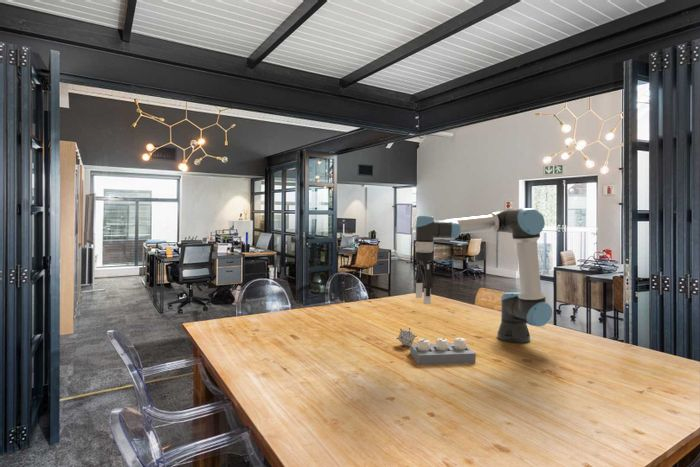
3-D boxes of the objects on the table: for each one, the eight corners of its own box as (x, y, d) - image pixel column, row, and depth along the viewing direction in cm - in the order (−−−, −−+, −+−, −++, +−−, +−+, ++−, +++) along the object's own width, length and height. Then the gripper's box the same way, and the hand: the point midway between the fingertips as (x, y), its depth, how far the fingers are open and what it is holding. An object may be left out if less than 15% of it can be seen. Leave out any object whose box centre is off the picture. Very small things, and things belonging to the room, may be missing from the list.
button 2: (445, 349, 174) (445, 337, 174) (449, 353, 169) (449, 341, 169) (434, 349, 174) (434, 338, 174) (438, 353, 169) (438, 341, 169)
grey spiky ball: (409, 354, 187) (416, 341, 181) (392, 347, 188) (398, 333, 182) (414, 340, 194) (420, 327, 188) (397, 333, 195) (403, 320, 189)
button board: (462, 351, 180) (462, 342, 180) (475, 362, 166) (475, 353, 166) (410, 353, 177) (410, 344, 177) (418, 364, 163) (418, 355, 163)
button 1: (463, 348, 175) (463, 337, 175) (467, 352, 170) (467, 340, 170) (452, 349, 175) (452, 337, 174) (456, 353, 170) (456, 341, 169)
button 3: (427, 350, 173) (427, 338, 173) (431, 353, 168) (431, 341, 168) (416, 350, 173) (416, 338, 173) (419, 354, 168) (419, 342, 168)
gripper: (409, 249, 185) (407, 295, 186) (423, 253, 160) (421, 306, 161) (425, 249, 185) (423, 295, 186) (441, 254, 161) (439, 306, 161)
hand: (422, 300), depth 173 cm, fingers open, 13 cm apart
